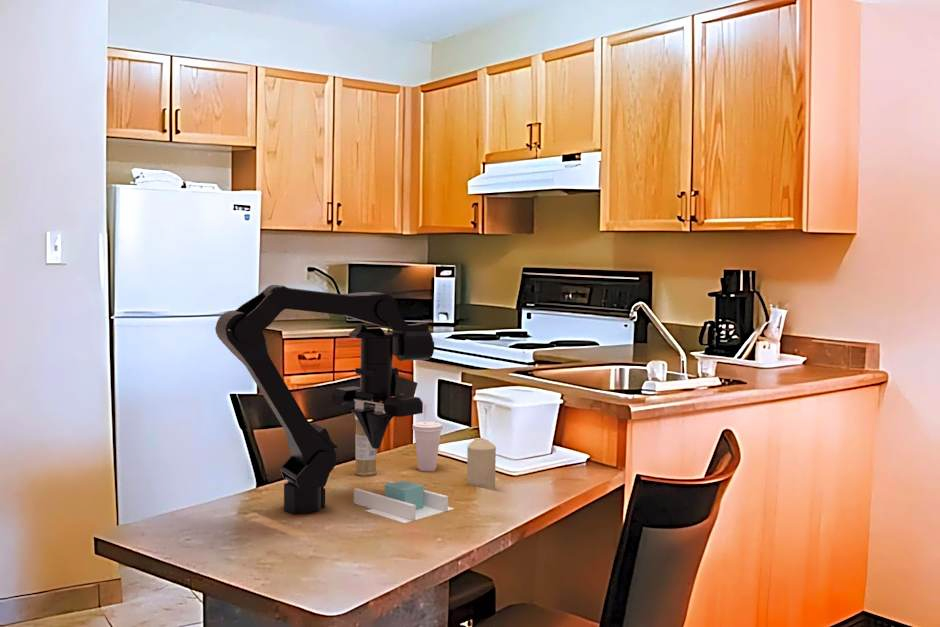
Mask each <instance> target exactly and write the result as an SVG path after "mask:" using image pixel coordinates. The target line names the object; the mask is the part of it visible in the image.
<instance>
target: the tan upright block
mask: <svg viewBox="0 0 940 627" xmlns="http://www.w3.org/2000/svg"><path fill="white" fill-rule="evenodd" d="M496 450H497V447H496V445H495V444H494V443H493V442H491V441H490V440H488V439H486V438H484V437H477V438H474V439H473V441H471V442H470V443H469V444H468V445H467V451H466V452H467V454H466V456H467V459H466V460H467V461H466V462H467V463H466V466H467V468H466V470H467V471H466V484H467V485H469V486H473V487H478V488H482V489H486V490H490V491H492V492H494V491H495V488H496V455H497V454H496V453H497V452H496Z"/></svg>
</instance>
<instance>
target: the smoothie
mask: <svg viewBox="0 0 940 627" xmlns="http://www.w3.org/2000/svg"><path fill="white" fill-rule="evenodd" d="M427 411H428V410H427V404H426V403H423V421H417V422H415V423H413V424H412V430H413V431H414V432H413V433H414V441H415V450H416V459H417V460H416V461H417V467H418V468H417V469H418V471H421V472H434V471H436V470H437V462H438V454H439V450H440V449H439V447H440V441H441V433H442V432H441V431H443V424H442V423H440V422H437V421H427Z"/></svg>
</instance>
